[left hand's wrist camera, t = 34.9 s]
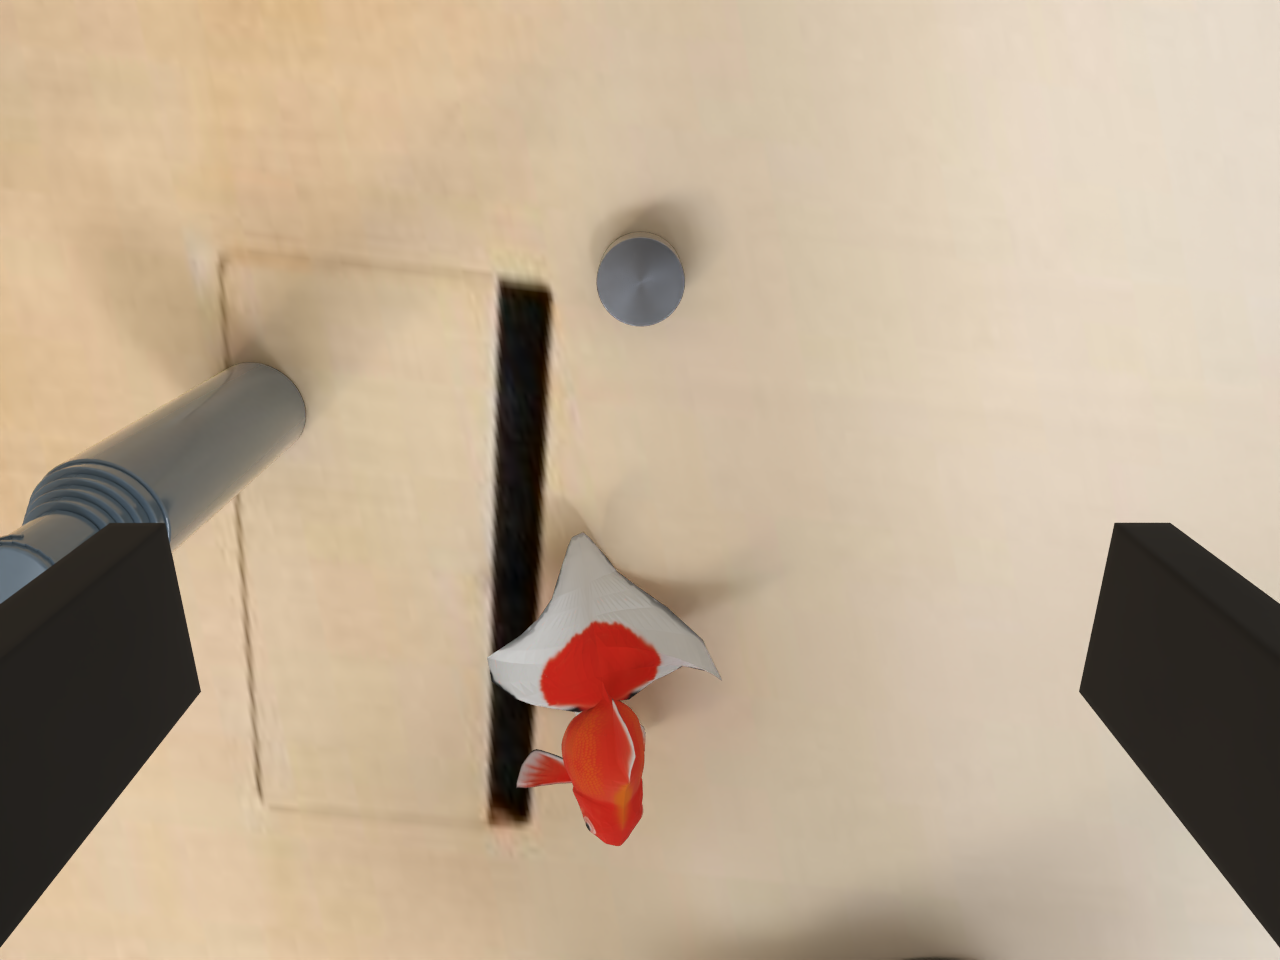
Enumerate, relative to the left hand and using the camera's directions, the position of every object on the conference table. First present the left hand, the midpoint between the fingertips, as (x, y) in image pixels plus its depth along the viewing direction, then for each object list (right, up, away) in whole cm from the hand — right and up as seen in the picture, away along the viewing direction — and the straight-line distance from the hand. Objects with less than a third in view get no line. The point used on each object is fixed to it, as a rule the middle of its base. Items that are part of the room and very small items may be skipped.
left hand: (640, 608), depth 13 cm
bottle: (-19, +5, +31) cm, 37 cm away
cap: (0, +11, +27) cm, 29 cm away
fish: (-2, -7, +36) cm, 37 cm away
